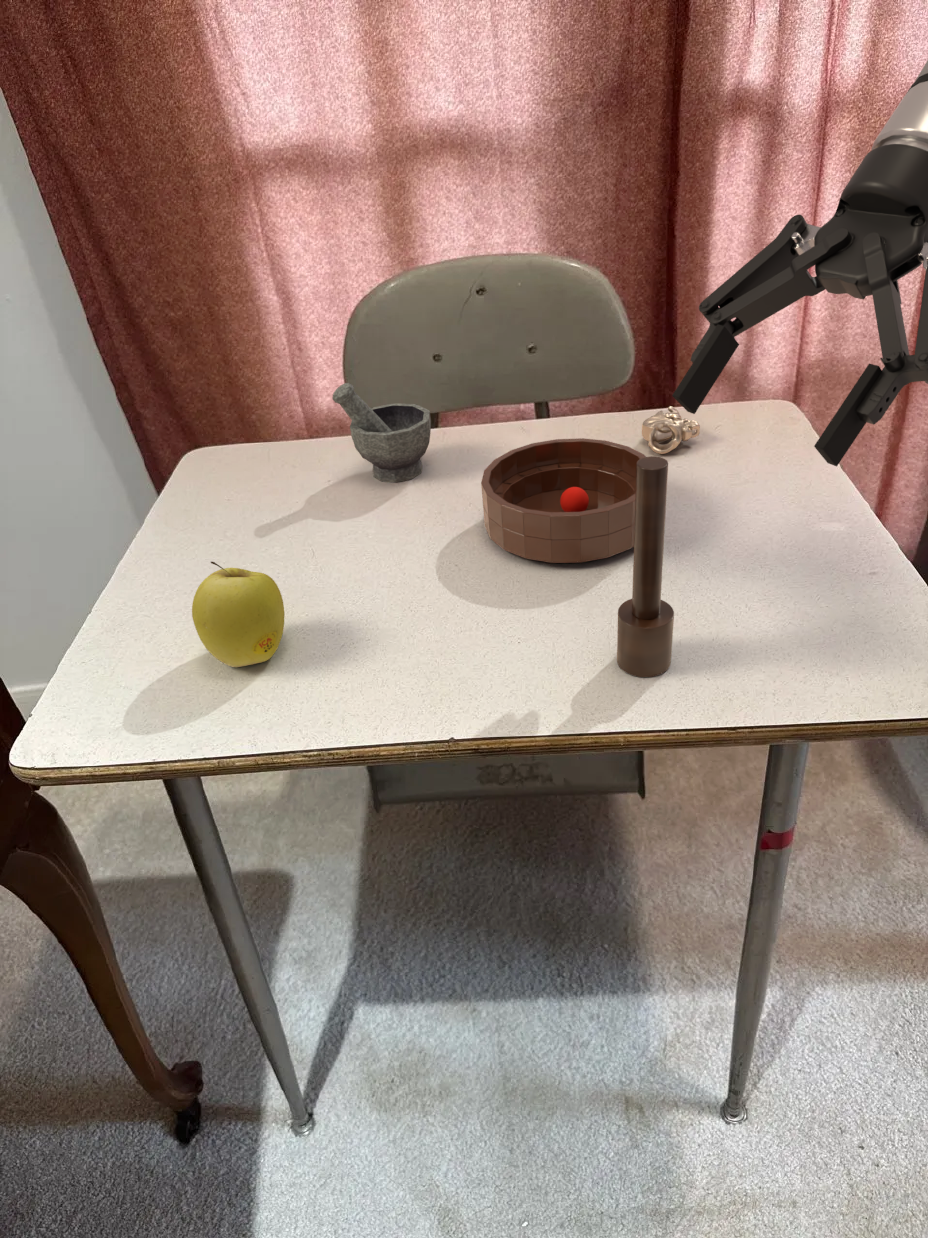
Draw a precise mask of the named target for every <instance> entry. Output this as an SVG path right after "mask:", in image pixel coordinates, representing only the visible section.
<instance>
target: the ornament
mask: <svg viewBox="0 0 928 1238" xmlns="http://www.w3.org/2000/svg"><path fill="white" fill-rule="evenodd" d="M667 411H668V412H665V413H664V411H663V410H660V411H657V412H656V413H655V414H654V415H652V416H650V417H648V418H645V420H643V422H642V425H641V437H642V438H643V439H644V440H645V441H647V443H648V444H647V446H648V447H649V448H650V449H651V450H652V451H653V452H654V453H656V454H659V455H664V454H668V453H669V452H672V451H673V450H674V449H676V448H677V447H678V446H679V445H680V443H682V441H683V442H687V441H688V440H690V439H693V438H696V437H698V436H699V435H700V430H701V425H700V423H699V422H698V421H696V420H694V419H692V420H689V419H688V418H682V416H681V414H680V412H679V411H678V410H677V409H676V408H675V407H673V406H671V405H669V406H668V407H667ZM668 440H670V441H669V442H668V443H665V444H661V443H662V442H665V441H668Z"/></svg>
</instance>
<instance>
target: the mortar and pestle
mask: <svg viewBox="0 0 928 1238" xmlns="http://www.w3.org/2000/svg"><path fill="white" fill-rule="evenodd" d="M332 400H333V402H334V403H336V404H338V405H339V406H340V407H341V409H343V411H344V412H345V414H346V415H347V416H348V417H349V419H350V420H351V421H350V425H349V430H350V435H351V440H352V442H353V446H354V447H355V450H356V451H357V452H358V454H359V455H360V456H361V457H362V459H364V460H365V461H367V462H368V463H370V464H372V475H373V478H376V479H377V480H378V481H380V482H382V483H383V482H384V483H400V482H405V481H410V480H412V479H414V478H416V477H417V476H419V475H420V474H422V471H423V464H422V457H424V456H425V454H426V452H427V451H428V447H429V444H430V440H431V433H432V432H431V429H432V428H431V427H432V418H431V411H430V409H427V408H425V407H424V406H421V405H419V404H416V403H395V402H394V403H388V404H384V405H378V406H374V407H370V405H368V404H367V402H366V401H365V400H363V398H362V397H360V395H359V394H358V393H357V392H356V391H355V387H354V385H353V384H352V383H350V382H344V383H342V384H341V385H339V386H338V387H337V388H336V389H335V390H334V392H333V394H332Z"/></svg>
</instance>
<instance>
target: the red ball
mask: <svg viewBox="0 0 928 1238" xmlns="http://www.w3.org/2000/svg"><path fill="white" fill-rule="evenodd" d="M588 503H589V498H588V495H587V493H586V492H585V491H584V490H583V489H581V488H579V487H570V488H568V489H566V490H565V491H564V492H563V494H562V495H561V499H560V504H561V507H562V509H563V510H564V511H565V512H581V511H585V510H586V509H587V507H588Z"/></svg>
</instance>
